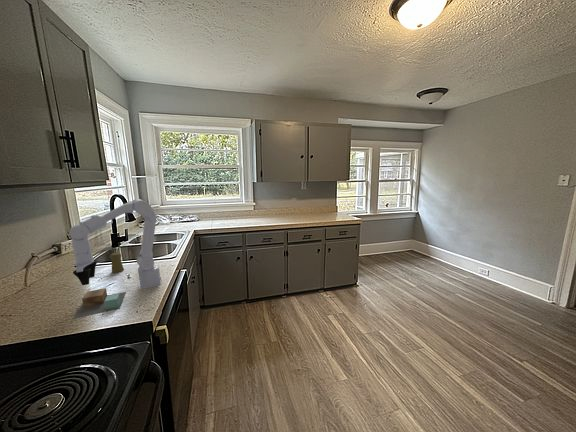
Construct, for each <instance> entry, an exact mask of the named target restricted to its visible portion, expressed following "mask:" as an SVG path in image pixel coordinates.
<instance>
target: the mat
mask: <svg viewBox="0 0 576 432" xmlns="http://www.w3.org/2000/svg"><path fill="white" fill-rule="evenodd" d="M116 294H119V295H120V301H121V302H120V305H119V307H117V308H112V309H108V310H106V308H105V302H104V303H102V304H97V305H92V306H87V307H84V306H83V303H82V304H81V305H80V307H79V308H78V310H77V311H76V312H75V314H74V315H73V317H72V318H71V319H72V320H75V319H80V318H85V317H88V316H89V317H90V316H93V315H97V314H102V313H107V312H111V311H117V310H120V309H121V307H122V304H123V302H124V299H125V296H126V294H127V291H123V292H119V293H114V294H113V293H112V294H107V296H111V295H116Z"/></svg>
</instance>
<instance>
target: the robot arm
mask: <svg viewBox="0 0 576 432" xmlns="http://www.w3.org/2000/svg"><path fill="white" fill-rule="evenodd" d="M134 212H136V213H137V214H139V215H140V216H141V217H142V218H143V219H144V222H143V231H142V238H141V248H140V251H139V254H138V256H137V258H136V263H137V265H138V268H137V272H138V273H137V274H138V280H139V286H138V290H142V289H147V288H152V287H159V286H161V281H162V276H161V272H160V267H159V266H155V261H154V254H153V247H154V241H155V240H154V238H155V232H156V225H157V223H156V222H157V215H156V213H155V211H154V209H153V208H152V206H151V205H150V203H148V202H147V201H145V200H143V199H140V198H136V199H133V200H131V201H128V202H126V203H124V204H121V205H120V206H118V207H116V208H114V209H112V210H110V211H109V212H107V213H105V214H103V215H101V214H96V215H94V214H92V215H91V216H90V218H89V219H86V220H84V221H80V222H78V224H75V225H73V226H71V228H70V229H69V236H70V238H71V242H72V243H71V245H72V250H73V254H74V259H75V262H73V263H72V265H73V266H76V267H75V270H73V272H72V274H73V275H74V276H75V277H76V278H77V279H78V280H79V282H80V284H81V285H82V286H87V285H90V278H95V275H96V267H97V264H98V260H94V256H93V253H92V249H91V248H92V247H91V243H90V240H89V234H92V233H94V232H97V231H99V230H100V229H102V228H104V227H106V226H107V224H108V222H109V221H111V220H115V218H119V217H120V216H122V215H124V214H134Z"/></svg>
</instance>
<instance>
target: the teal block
mask: <svg viewBox="0 0 576 432" xmlns="http://www.w3.org/2000/svg"><path fill="white" fill-rule="evenodd" d="M115 294H116V295H112V294H110V295H111V296H107V297H106V299H105V301H104V302H105V308H106V310H108V309H112V308H117V307H119V305H120V302H121V301H120V295H119V294H117V293H115Z"/></svg>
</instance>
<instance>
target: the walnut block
mask: <svg viewBox="0 0 576 432" xmlns="http://www.w3.org/2000/svg"><path fill="white" fill-rule="evenodd" d="M107 295H108V292H107V288H106V287H103V288H100V289H94V290H88V291H86V292H85V294H84V295H83V297H82V298H81V300H82V301H81V302H82V304H83V306H84V307H87V306H92V305H97V304H102V303H104V301H105V299H106V297H107Z"/></svg>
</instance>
